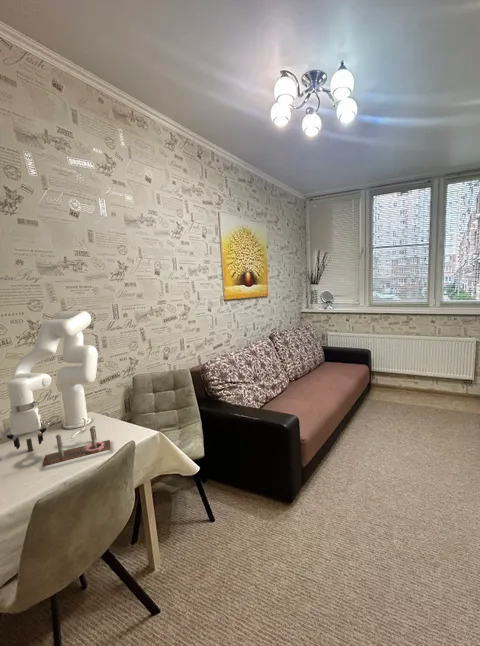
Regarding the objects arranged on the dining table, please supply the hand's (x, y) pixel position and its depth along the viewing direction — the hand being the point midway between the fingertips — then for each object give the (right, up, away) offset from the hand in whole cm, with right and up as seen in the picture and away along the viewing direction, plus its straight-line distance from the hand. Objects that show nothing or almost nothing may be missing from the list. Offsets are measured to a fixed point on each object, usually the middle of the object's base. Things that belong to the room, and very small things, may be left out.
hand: (29, 444), depth 134 cm
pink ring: (+26, -2, +4) cm, 26 cm away
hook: (+10, -2, +15) cm, 18 cm away
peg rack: (+22, -4, 0) cm, 22 cm away
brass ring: (+3, -5, -4) cm, 7 cm away
